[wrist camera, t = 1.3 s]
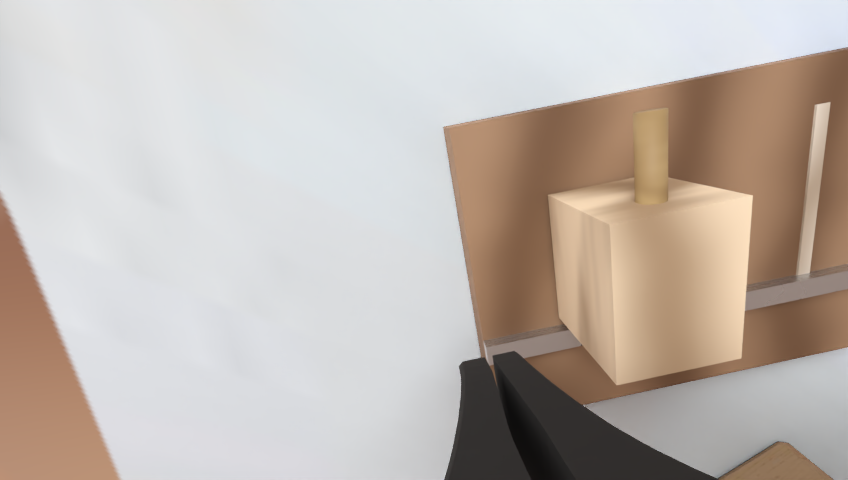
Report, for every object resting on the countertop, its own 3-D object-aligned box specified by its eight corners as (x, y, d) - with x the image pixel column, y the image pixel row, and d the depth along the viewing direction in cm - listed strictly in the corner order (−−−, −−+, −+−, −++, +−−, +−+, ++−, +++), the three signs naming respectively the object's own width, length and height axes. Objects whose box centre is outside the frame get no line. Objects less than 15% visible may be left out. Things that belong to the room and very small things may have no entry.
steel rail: (879, 256, 20) (894, 260, 19) (876, 275, 20) (890, 279, 19) (483, 340, 19) (486, 347, 19) (486, 358, 19) (489, 365, 19)
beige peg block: (651, 101, 16) (759, 94, 11) (652, 297, 19) (741, 358, 14) (541, 123, 16) (605, 125, 11) (558, 317, 19) (616, 385, 14)
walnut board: (869, 43, 18) (921, 34, 16) (828, 326, 23) (866, 344, 21) (443, 126, 18) (449, 128, 16) (488, 400, 22) (497, 424, 21)
